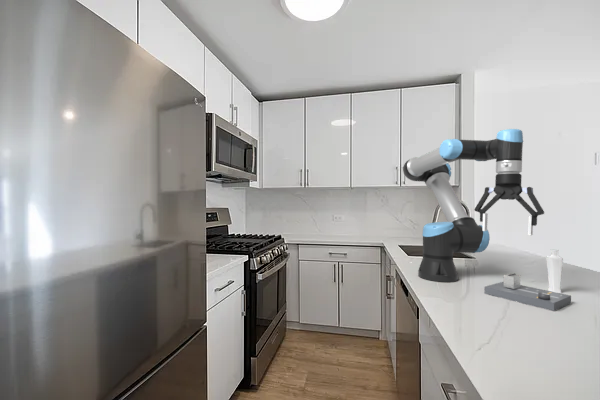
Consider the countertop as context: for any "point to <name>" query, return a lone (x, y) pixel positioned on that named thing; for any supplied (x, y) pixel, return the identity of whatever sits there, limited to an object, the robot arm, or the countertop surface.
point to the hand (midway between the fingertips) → (506, 233)
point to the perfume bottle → (554, 271)
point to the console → (529, 296)
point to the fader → (512, 280)
